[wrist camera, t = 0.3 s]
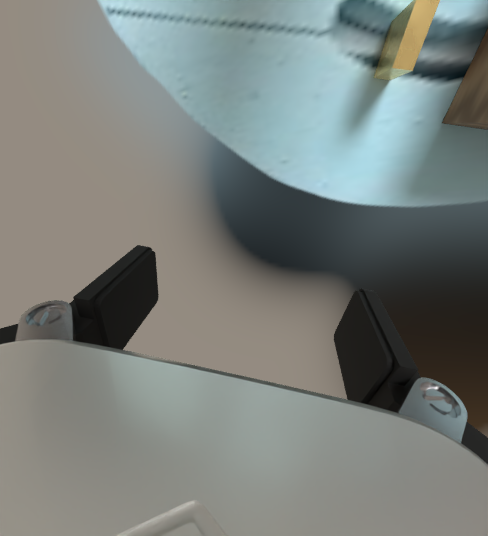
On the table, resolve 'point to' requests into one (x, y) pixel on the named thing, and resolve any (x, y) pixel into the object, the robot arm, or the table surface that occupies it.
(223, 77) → the table surface
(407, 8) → the golden flat plank
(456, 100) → the coin box
